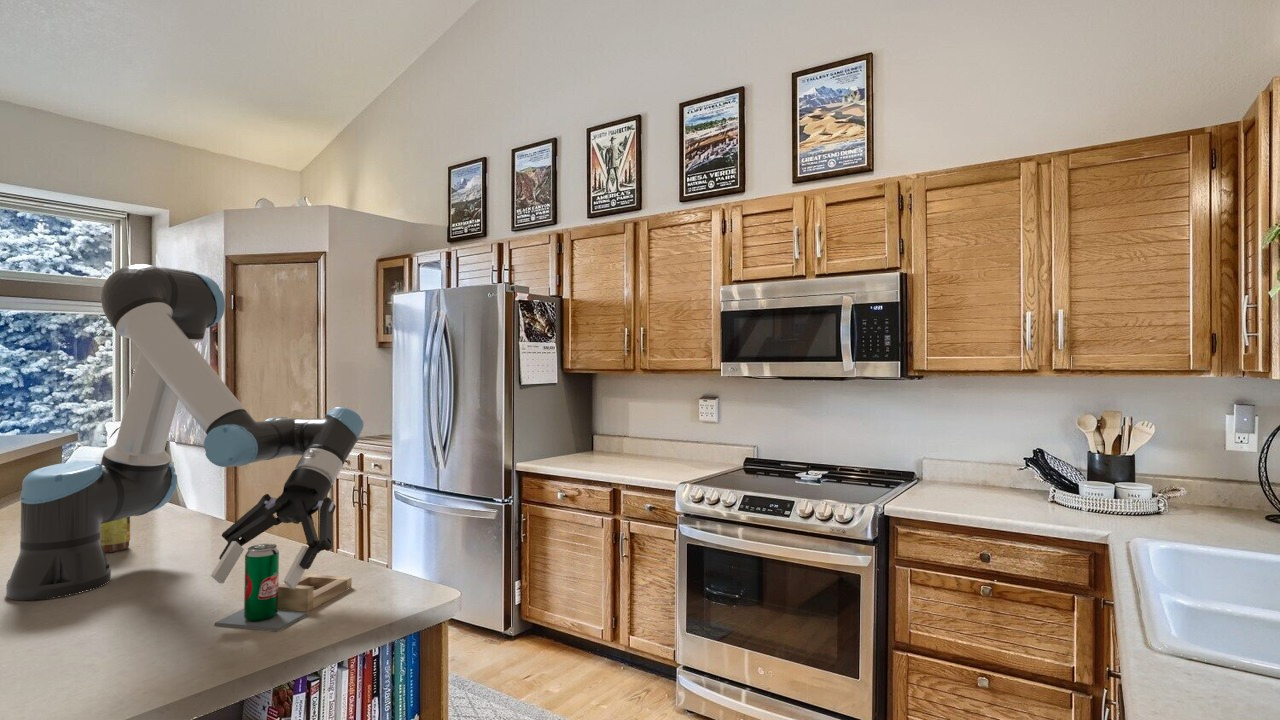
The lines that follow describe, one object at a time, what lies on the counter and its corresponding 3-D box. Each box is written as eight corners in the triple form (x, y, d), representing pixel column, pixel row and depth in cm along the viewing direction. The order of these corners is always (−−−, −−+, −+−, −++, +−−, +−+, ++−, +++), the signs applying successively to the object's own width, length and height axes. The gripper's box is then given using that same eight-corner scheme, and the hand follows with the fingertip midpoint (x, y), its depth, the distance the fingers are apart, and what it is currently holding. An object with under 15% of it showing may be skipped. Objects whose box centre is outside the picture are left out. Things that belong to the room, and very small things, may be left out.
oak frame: (257, 607, 118) (257, 585, 118) (305, 583, 131) (306, 563, 131) (307, 611, 117) (308, 589, 117) (351, 587, 129) (351, 567, 129)
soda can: (262, 624, 110) (263, 552, 110) (236, 621, 111) (237, 549, 111) (284, 613, 115) (286, 544, 115) (259, 610, 116) (261, 542, 116)
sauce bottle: (134, 549, 153) (136, 463, 153) (101, 555, 148) (103, 467, 148) (122, 544, 156) (124, 461, 157) (90, 550, 151) (92, 464, 151)
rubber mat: (214, 625, 110) (214, 622, 110) (246, 610, 117) (246, 607, 117) (278, 631, 108) (278, 628, 108) (307, 615, 115) (307, 612, 115)
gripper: (244, 463, 125) (174, 566, 110) (365, 468, 120) (309, 576, 106) (264, 486, 130) (200, 587, 115) (380, 492, 126) (329, 598, 111)
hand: (252, 582), depth 110 cm, fingers open, 13 cm apart
